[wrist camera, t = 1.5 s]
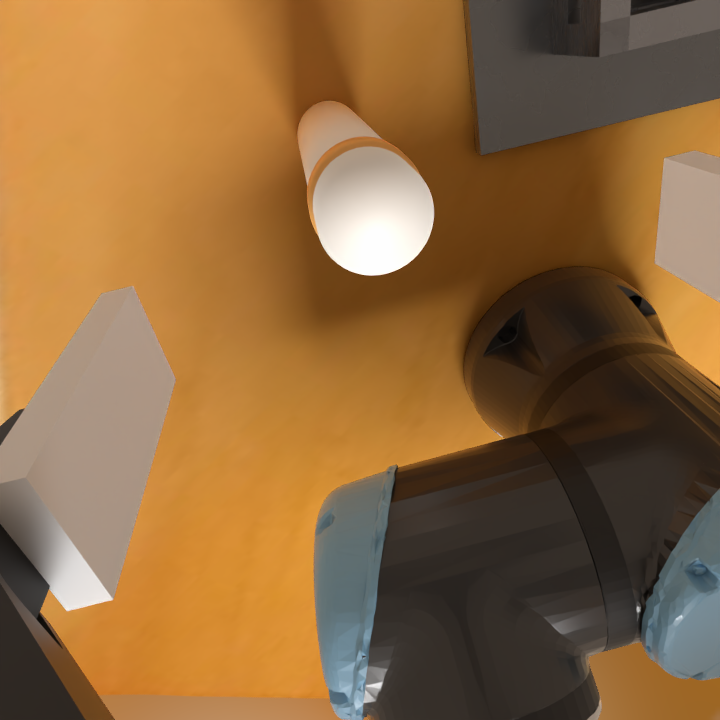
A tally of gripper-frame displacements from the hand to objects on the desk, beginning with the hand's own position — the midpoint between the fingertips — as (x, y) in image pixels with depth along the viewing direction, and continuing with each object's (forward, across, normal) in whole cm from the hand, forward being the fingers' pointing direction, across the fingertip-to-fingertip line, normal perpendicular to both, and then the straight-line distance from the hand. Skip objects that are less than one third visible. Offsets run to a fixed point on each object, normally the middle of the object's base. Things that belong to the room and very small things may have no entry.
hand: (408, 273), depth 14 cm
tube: (+23, 0, 0) cm, 23 cm away
